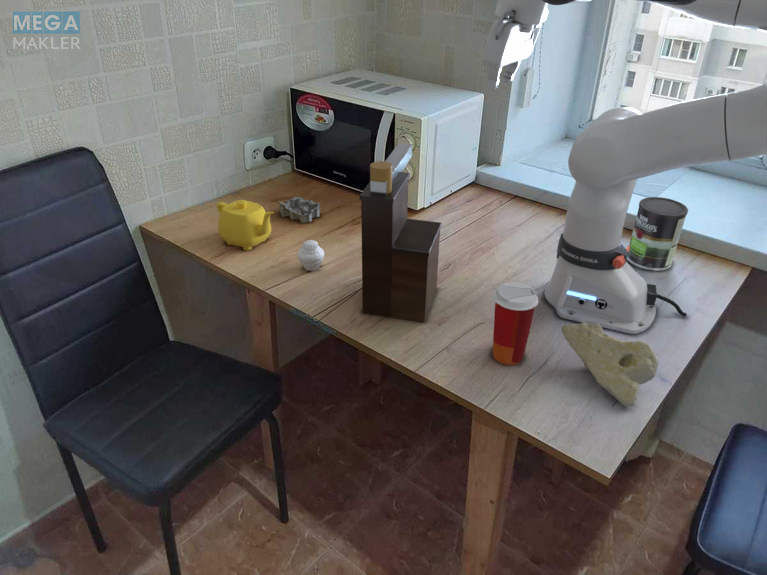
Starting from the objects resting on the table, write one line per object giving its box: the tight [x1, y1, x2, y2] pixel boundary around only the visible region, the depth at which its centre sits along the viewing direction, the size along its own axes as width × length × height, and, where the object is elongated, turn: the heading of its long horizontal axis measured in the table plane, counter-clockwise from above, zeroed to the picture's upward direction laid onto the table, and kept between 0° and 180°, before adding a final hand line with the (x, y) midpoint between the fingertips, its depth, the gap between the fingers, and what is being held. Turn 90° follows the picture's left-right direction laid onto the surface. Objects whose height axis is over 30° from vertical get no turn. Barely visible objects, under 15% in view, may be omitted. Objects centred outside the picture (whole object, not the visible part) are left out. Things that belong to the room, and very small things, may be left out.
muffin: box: [296, 239, 325, 272], centre depth 139 cm, size 6×6×7 cm
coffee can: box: [626, 196, 689, 272], centre depth 141 cm, size 10×10×14 cm
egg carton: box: [276, 196, 322, 224], centre depth 164 cm, size 11×8×4 cm
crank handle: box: [369, 142, 413, 195], centre depth 120 cm, size 22×4×5 cm, turn 165°
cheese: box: [561, 322, 660, 408], centre depth 107 cm, size 15×7×15 cm
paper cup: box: [492, 281, 539, 366], centre depth 110 cm, size 8×8×14 cm
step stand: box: [359, 171, 443, 323], centre depth 122 cm, size 14×13×26 cm
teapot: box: [216, 199, 275, 251], centre depth 149 cm, size 18×11×11 cm, turn 59°
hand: (499, 85), depth 120 cm, fingers open, 8 cm apart
